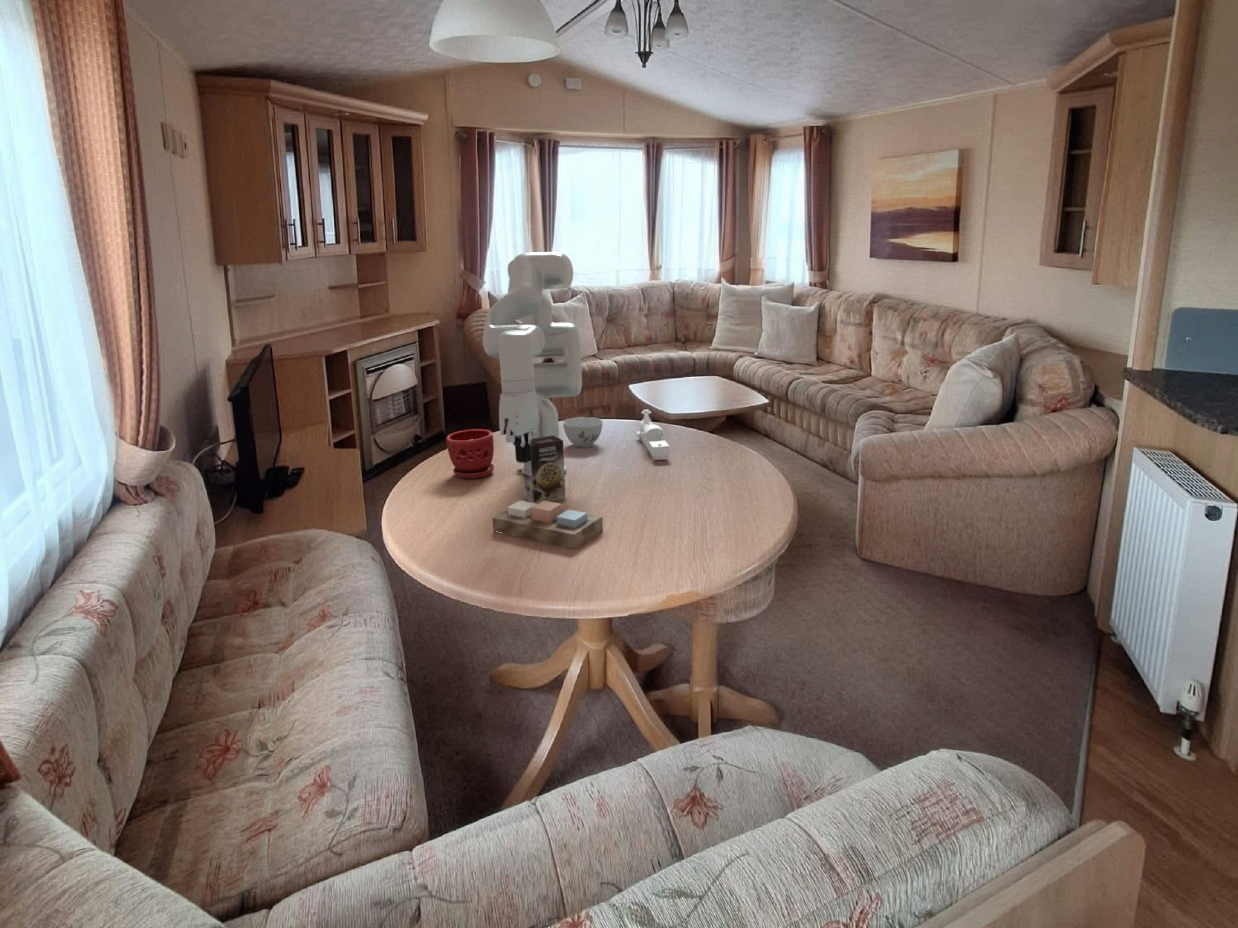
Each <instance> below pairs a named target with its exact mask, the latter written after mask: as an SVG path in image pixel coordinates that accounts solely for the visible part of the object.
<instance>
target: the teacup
mask: <svg viewBox="0 0 1238 928" xmlns="http://www.w3.org/2000/svg"><path fill="white" fill-rule="evenodd" d="M603 424H604V421H603V420H602V419H600V418H598V417H592V416H590V417H586V416H578V417H572V418H571V417H570V418H566V419H565V420H563V421H562V426H563V430H564V433H565V435H566V438H567V439H568V440H569V442H570V443H571V444H572V445H574V447H576V448H590V447H592V446H593V445H594V443H596V442H597V441H598V439H599V438H600V436H601V432H602V430H603Z"/></svg>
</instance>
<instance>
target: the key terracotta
mask: <svg viewBox="0 0 1238 928" xmlns="http://www.w3.org/2000/svg"><path fill="white" fill-rule="evenodd" d="M531 508H532V520H537V521H542V522H547V523H551V522H553V521H555V520H556V519H557V516H559V515H560V514H562V509H563V508H562V503H559V502H555V501H554V502H549V501H542V502H540V503H538V504H537V505H535V506H533V507H531Z"/></svg>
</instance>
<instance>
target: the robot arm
mask: <svg viewBox="0 0 1238 928" xmlns="http://www.w3.org/2000/svg"><path fill="white" fill-rule="evenodd" d="M573 267H574V266H573V263H572V261H571V260H570V258H569V257H568V256H567V255H566V254H565V253H563V252H558V251H542V252H540V251H539V252H536V251H535V252H534V251H533V252H523V253H520V254H517V256H515V257H514V258H513V259H512V260H511V261H509V263H508V264H507V275H508V279H509V281H508V289H507V294H505V295H504V296H502V297H501V298H500V299H498V300H497V302H495V303H494V304H493V305H492V306H491V307H490V308H489V310H488V312H487V314H486V316H485V321H484V328H483V334H482V344H483V349H484V352H485V353H486V354H487V356H490V357H492V358H499V367H500V369H499V370H500V378H501V379H500V381H501V383H500V384H501V393H500V395H499V405H498V406H499V407H498V410H499V411H498V412H499V413H498V423H499V433H500V434H501V436H505V442H506V443H512V446H514V451H515V452H514V453H515V461H516V462H517V464H524V462H525V463H526V462H528V461H530V460H531V454H530V445H529V444H531V439H535V438H541V437H548V436H555V437H557V438H559V439H560V432H559V431H560V430H559V414H558V409H557V408H556V406H555V404H554V403H553V402H552V401H551V400H550V399H549V398H570V397H573V398H574V397H577V396H579V394H580V393H581V391H582V386H583V375H582V349H581V348H582V346H581V344H582V343H581V337H580V336H581V335H580V330H579V329H578V326H576V325H575V324H574V323H572V322H554V320H553V304H552V302H551V301H550V299H549V298H548V296H547V295H546V294H545V293H544V292H543V291H544V290H562V289H563V290H564V289H565V290H566V289H568V288H569V287H570V286H572V283H573V280H574V268H573ZM520 319H521V324H509V323H512V322H514V321H517V320H520ZM550 358H551V359H554V358H555V359H558V358H559V359H560V358H561V359H563V360H564V361H565V362H535V363H534V359H550ZM564 472H565V473H566V472H567V466H566V465H565V464H564ZM521 473H522V475H523V476H524V477H525V475H524V467H523V468H522V469H521Z"/></svg>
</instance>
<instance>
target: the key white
mask: <svg viewBox="0 0 1238 928" xmlns="http://www.w3.org/2000/svg"><path fill="white" fill-rule="evenodd" d="M535 505H537V504H536V503H531V502H529V501H527V500H526V501H524V500H518V501H516V502H515V503H512V504H511V505H509V506H507V510H508V515H512V516H517V517H522V518H527V517H529V516H530V515H532V508H531V507H533V506H535Z"/></svg>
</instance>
